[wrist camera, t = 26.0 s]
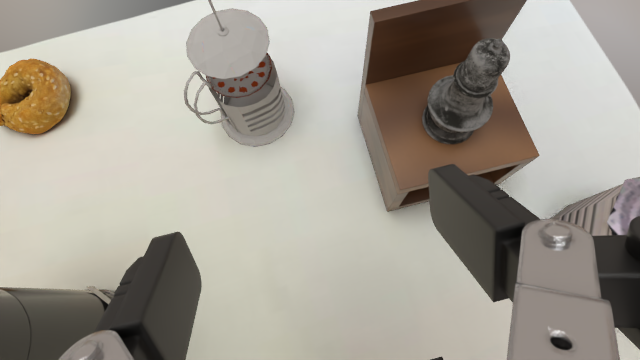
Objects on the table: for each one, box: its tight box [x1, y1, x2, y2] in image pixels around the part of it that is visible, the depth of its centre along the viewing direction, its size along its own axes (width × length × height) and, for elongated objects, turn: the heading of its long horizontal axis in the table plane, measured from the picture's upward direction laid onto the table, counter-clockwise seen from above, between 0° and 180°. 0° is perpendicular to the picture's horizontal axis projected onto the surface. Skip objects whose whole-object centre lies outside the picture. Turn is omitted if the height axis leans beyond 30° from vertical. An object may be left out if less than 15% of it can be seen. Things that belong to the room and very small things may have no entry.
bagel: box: [0, 59, 71, 134], centre depth 47 cm, size 10×11×5 cm
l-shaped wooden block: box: [358, 0, 539, 211], centre depth 36 cm, size 13×14×18 cm
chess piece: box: [422, 38, 510, 144], centre depth 30 cm, size 6×6×12 cm
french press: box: [184, 0, 294, 146], centre depth 35 cm, size 10×12×25 cm
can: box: [551, 177, 640, 236], centre depth 35 cm, size 11×11×12 cm
